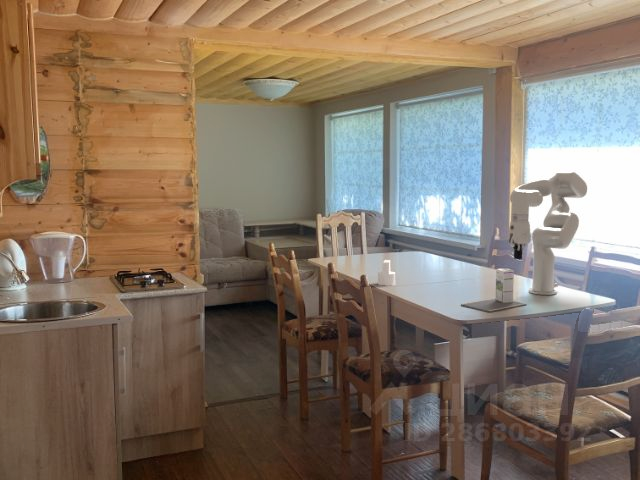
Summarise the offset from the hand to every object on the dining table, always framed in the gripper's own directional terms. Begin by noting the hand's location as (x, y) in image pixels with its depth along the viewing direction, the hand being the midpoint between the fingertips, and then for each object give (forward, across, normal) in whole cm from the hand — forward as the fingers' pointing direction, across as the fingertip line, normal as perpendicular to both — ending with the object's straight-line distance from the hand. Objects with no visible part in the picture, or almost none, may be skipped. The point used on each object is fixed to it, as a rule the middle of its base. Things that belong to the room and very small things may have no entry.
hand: (517, 258), depth 288 cm
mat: (+19, -16, -1) cm, 25 cm away
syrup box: (+19, -8, 0) cm, 21 cm away
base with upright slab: (+20, -22, +64) cm, 71 cm away
